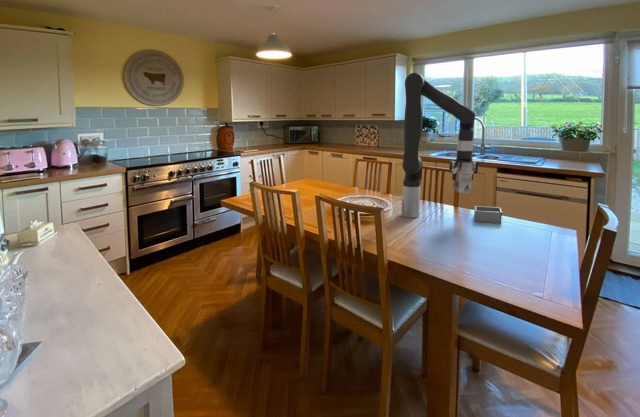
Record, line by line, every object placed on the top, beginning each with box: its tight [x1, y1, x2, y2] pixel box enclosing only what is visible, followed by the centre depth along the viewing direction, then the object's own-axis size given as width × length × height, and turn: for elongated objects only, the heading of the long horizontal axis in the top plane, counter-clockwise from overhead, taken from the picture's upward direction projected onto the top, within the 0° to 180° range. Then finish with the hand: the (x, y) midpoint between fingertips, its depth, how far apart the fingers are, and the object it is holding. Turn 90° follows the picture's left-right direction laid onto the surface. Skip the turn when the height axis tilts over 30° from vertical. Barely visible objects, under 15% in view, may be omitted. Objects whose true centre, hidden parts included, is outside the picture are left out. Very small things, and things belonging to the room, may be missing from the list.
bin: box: [473, 205, 503, 224], centre depth 202 cm, size 13×10×6 cm
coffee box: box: [452, 159, 474, 194], centre depth 199 cm, size 9×6×16 cm
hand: (462, 180), depth 200 cm, fingers closed on coffee box, 7 cm apart
